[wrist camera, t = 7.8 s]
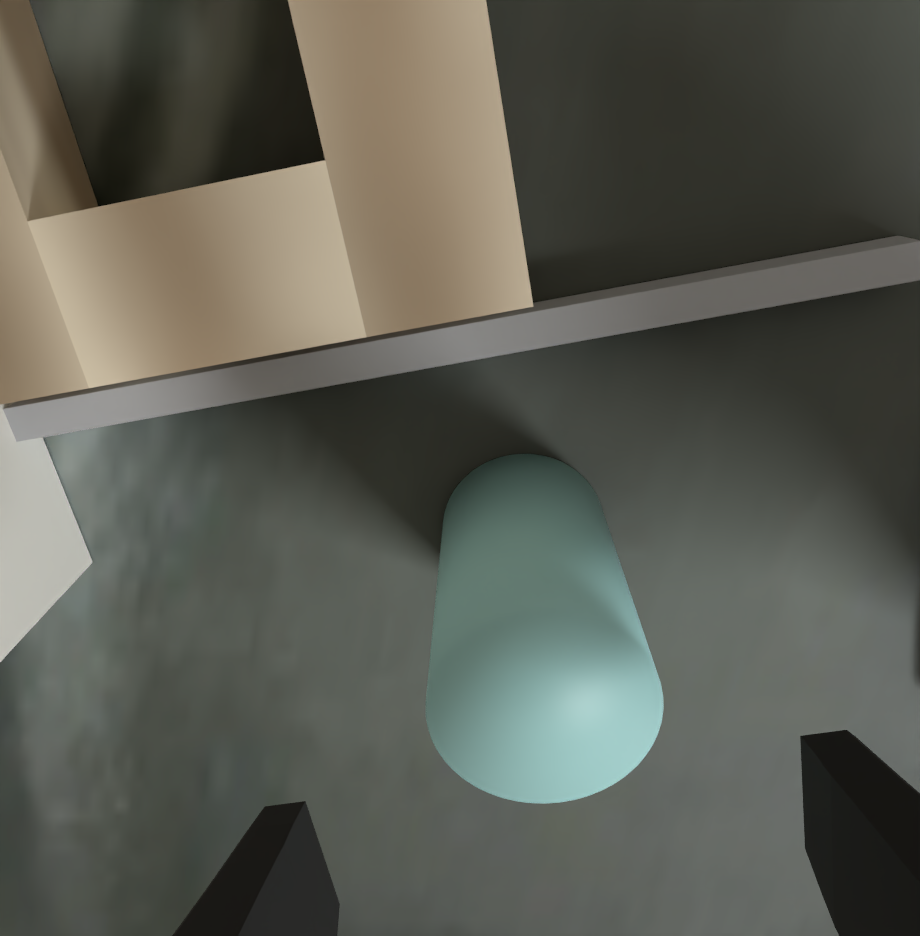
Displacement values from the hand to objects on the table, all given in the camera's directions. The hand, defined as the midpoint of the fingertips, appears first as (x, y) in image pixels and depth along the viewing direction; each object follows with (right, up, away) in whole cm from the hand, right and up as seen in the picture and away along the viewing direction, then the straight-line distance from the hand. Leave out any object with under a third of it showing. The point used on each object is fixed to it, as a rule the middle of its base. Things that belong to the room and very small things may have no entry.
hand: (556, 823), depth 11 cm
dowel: (0, +4, +9) cm, 9 cm away
